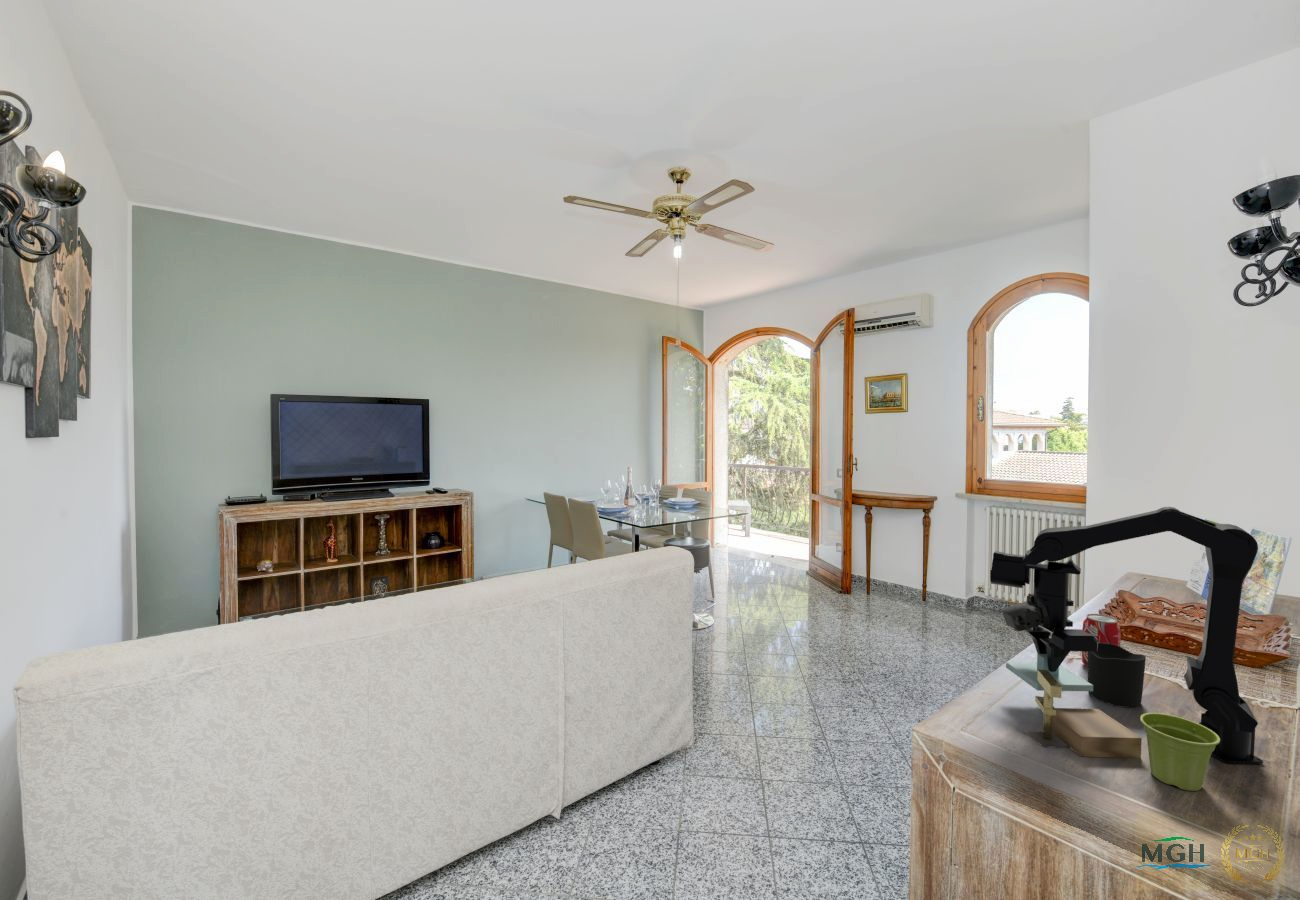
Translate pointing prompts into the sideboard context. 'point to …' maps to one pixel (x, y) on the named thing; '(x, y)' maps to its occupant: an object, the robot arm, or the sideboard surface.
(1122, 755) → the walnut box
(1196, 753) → the plant pot
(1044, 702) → the key
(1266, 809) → the sideboard surface
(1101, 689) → the pen holder
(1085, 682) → the lid
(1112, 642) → the soda can
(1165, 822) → the sideboard surface
